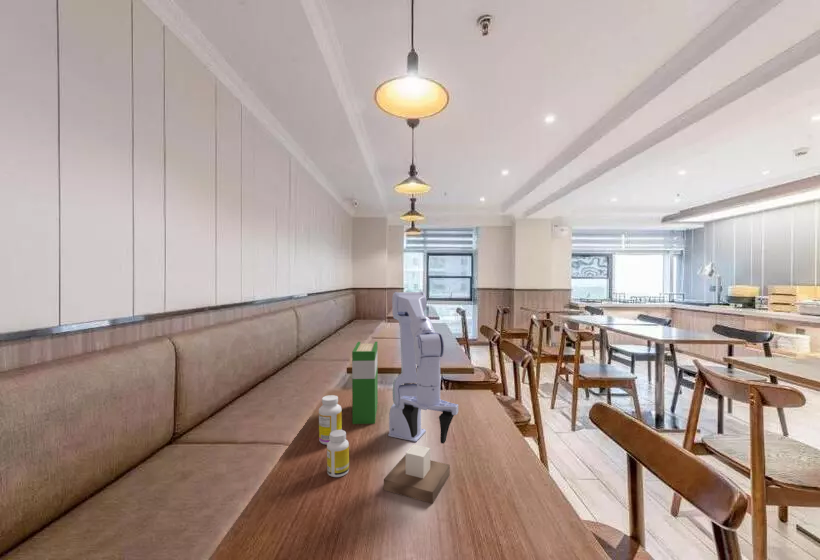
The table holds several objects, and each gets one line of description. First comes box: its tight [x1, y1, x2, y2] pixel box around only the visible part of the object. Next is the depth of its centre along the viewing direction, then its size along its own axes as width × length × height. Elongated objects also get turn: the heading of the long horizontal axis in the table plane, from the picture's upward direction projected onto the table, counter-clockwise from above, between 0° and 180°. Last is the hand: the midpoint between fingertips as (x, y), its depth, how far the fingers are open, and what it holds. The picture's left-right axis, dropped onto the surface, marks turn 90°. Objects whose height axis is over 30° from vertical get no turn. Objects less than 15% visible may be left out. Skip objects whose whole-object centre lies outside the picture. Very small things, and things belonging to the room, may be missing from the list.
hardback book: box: [351, 341, 379, 425], centre depth 125 cm, size 18×7×24 cm, turn 2°
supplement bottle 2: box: [326, 429, 350, 478], centre depth 88 cm, size 5×5×10 cm
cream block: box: [405, 444, 431, 478], centre depth 84 cm, size 4×4×5 cm
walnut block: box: [383, 454, 451, 504], centre depth 84 cm, size 12×12×2 cm
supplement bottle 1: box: [318, 394, 343, 446], centre depth 105 cm, size 7×7×13 cm
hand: (428, 438), depth 86 cm, fingers open, 7 cm apart
